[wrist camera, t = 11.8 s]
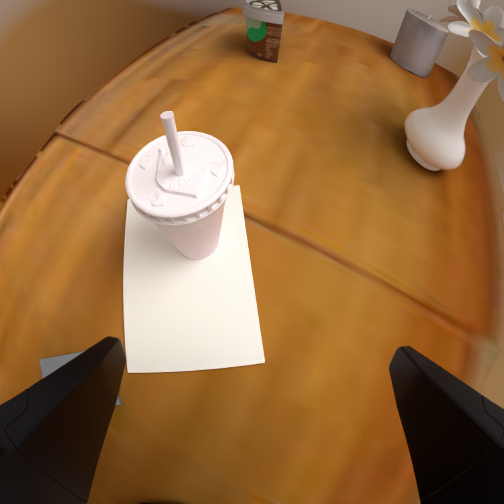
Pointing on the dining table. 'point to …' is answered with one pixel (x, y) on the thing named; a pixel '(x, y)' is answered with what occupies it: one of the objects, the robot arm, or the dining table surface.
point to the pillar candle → (418, 43)
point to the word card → (56, 362)
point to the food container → (263, 28)
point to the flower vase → (459, 89)
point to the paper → (189, 299)
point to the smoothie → (183, 187)
